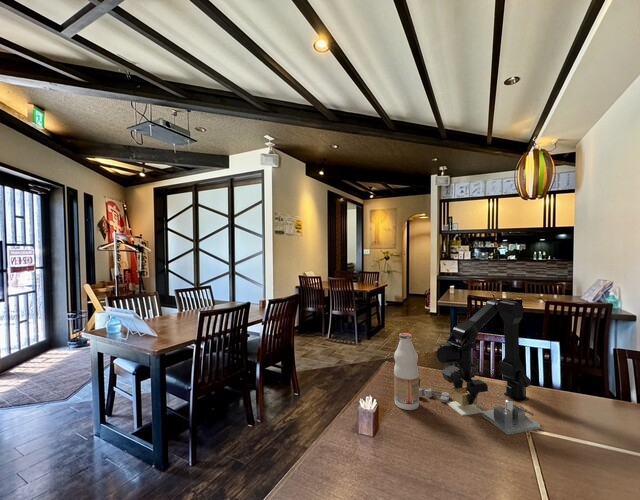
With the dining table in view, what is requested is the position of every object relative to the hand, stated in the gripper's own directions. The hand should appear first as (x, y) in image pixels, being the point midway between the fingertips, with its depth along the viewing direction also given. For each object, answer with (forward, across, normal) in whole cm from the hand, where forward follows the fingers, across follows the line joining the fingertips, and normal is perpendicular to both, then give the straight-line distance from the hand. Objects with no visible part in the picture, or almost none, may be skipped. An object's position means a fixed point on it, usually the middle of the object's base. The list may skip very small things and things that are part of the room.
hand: (464, 400), depth 118 cm
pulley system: (+4, -18, -9) cm, 20 cm away
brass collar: (0, 0, 0) cm, 0 cm away
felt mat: (+3, 0, 0) cm, 3 cm away
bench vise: (+3, +12, +9) cm, 15 cm away
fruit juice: (+3, -8, -20) cm, 22 cm away
